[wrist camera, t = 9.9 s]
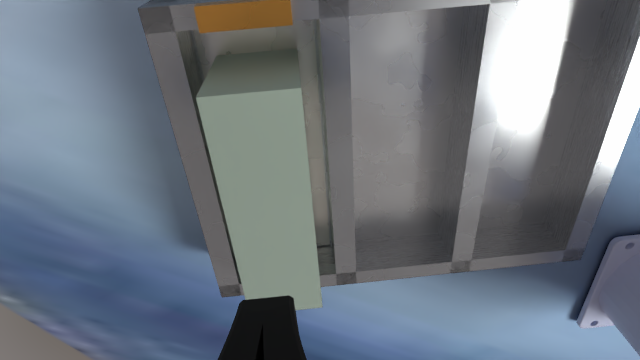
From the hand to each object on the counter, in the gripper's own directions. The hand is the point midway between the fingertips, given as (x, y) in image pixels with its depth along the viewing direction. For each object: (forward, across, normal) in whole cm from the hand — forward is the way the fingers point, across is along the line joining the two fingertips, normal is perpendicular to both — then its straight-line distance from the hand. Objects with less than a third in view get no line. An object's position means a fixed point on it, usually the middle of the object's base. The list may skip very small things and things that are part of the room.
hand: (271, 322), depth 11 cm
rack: (+10, -6, 0) cm, 11 cm away
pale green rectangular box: (+9, 0, 0) cm, 9 cm away
